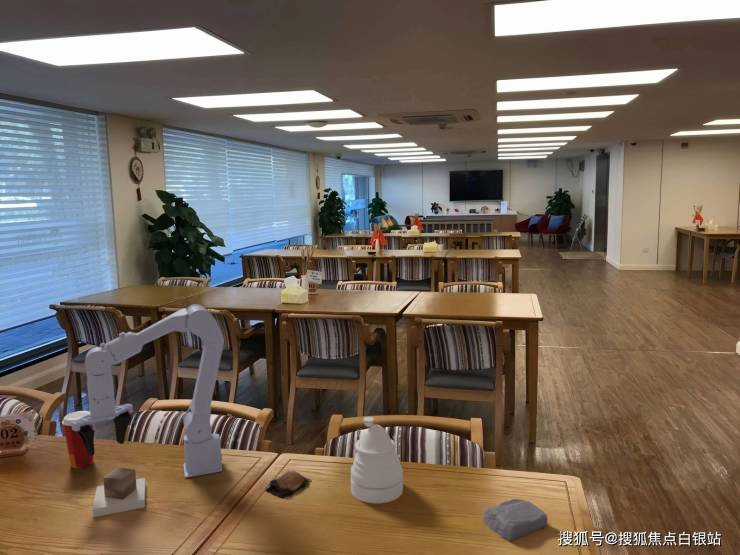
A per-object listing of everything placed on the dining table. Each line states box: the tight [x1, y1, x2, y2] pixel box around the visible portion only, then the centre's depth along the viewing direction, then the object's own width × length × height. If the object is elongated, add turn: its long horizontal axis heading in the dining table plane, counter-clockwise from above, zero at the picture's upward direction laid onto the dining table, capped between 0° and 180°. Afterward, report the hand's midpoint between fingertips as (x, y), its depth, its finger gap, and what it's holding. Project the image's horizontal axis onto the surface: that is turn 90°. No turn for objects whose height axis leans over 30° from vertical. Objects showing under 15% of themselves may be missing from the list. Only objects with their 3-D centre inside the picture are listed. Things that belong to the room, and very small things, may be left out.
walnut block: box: [102, 467, 137, 499], centre depth 134 cm, size 5×5×5 cm
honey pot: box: [350, 416, 404, 504], centre depth 136 cm, size 13×13×18 cm
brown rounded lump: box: [264, 470, 312, 499], centre depth 140 cm, size 11×8×4 cm
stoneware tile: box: [92, 477, 146, 518], centre depth 134 cm, size 11×11×2 cm
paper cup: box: [61, 410, 95, 469], centre depth 152 cm, size 8×8×14 cm
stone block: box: [483, 498, 549, 542], centre depth 122 cm, size 12×5×10 cm
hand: (106, 448), depth 139 cm, fingers open, 7 cm apart
